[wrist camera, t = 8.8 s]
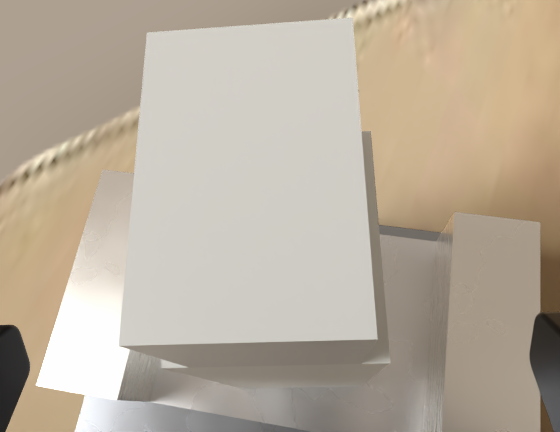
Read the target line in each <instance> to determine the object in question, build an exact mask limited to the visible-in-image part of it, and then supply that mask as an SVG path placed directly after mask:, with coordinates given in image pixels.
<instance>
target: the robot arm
mask: <svg viewBox="0 0 560 432" xmlns="http://www.w3.org/2000/svg"><path fill="white" fill-rule="evenodd" d="M529 358H530V364H531V368H532V371H533V374H534V377H535V379H536V382H537V385H538V388H539V391H540V394H541V397H542V399H543V402H544V405H545V408H546V411H547V414H548V416H549V419H550V422H551V425H552V428H553V431H554V432H560V312H540V313H539V314H537V315H536V317H535V320H534V326H533V333H532V339H531V346H530V353H529ZM29 371H30V362H29V358H28V355H27V352H26V349H25V346H24V343H23V340H22V337H21V334H20V331H19V329H18V328H17V327H16V326H14V325H0V432H5V431H6V429H7V426H8V424H9V422H10V419H11V417H12V414H13V412H14V409H15V407H16V405H17V402H18V400H19V397H20V395H21V392H22V390H23V387H24V385H25V383H26V380H27V378H28V375H29Z"/></svg>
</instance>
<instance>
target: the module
mask: <svg viewBox="0 0 560 432" xmlns="http://www.w3.org/2000/svg"><path fill="white" fill-rule="evenodd" d="M118 346H120V347H123V348H127V349H130V350H133V351H136V352H140V353H143V354H146V355H149V356H153V357H156V358H159V359H162V361H161V368H162V369H166V370H170V371H174V372H178V373H182V374H186V375H190V376H194V377H198V378H201V379H205V380H209V381H213V382H217V383H221V384H225V385H229V386H233V387H237V388H295V387H348V386H362V385H363V384H364V383H366V382H367V381H368V380H369V379H371V378H372V377H373V376H375V375H376V374H377V373H378V372H380V371H381V370H382V369H384V368H385V367H386V366H388V365H389V364H390V352H389V340H388V329H387V317H386V305H385V293H384V281H383V270H382V258H381V246H380V234H379V223H378V211H377V199H376V187H375V175H374V164H373V152H372V140H371V131H364V132H361V120H360V107H359V94H358V81H357V68H356V55H355V42H354V30H353V18H342V19H328V20H314V21H301V22H287V23H273V24H260V25H245V26H231V27H218V28H204V29H190V30H177V31H162V32H148V33H147V39H146V50H145V62H144V72H143V83H142V94H141V105H140V116H139V127H138V137H137V148H136V159H135V170H134V181H133V192H132V203H131V214H130V225H129V236H128V247H127V258H126V269H125V280H124V291H123V302H122V313H121V323H120V334H119V345H118Z"/></svg>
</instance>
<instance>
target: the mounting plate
mask: <svg viewBox="0 0 560 432" xmlns="http://www.w3.org/2000/svg"><path fill="white" fill-rule="evenodd" d="M133 181H134V173H126V172H118V171H109V170H102V173H101V176H100V180H99V183H98V186H97V189H96V193H95V196H94V199H93V202H92V206H91V209H90V212H89V215H88V219H87V222H86V225H85V228H84V232H83V235H82V238H81V242H80V245H79V248H78V251H77V255H76V258H75V261H74V264H73V268H72V271H71V274H70V277H69V281H68V284H67V287H66V290H65V294H64V297H63V300H62V303H61V307H60V310H59V313H58V317H57V320H56V323H55V326H54V330H53V333H52V336H51V339H50V343H49V346H48V349H47V352H46V356H45V359H44V362H43V365H42V369H41V372H40V375H39V379H38V382H37V385H36V386H42V387H47V388H53V389H58V390H63V391H69V392H74V393H80V394H85V398H84V401H83V405H82V408H81V412H80V416H79V419H78V423H77V427H76V430H75V432H540V391H539V388H538V385H537V382H536V379H535V377H534V374H533V371H532V368H531V364H530V358H529V353H530V346H531V339H532V333H533V326H534V320H535V317H536V315H537V314H539V313H540V222H534V221H526V220H518V219H509V218H501V217H493V216H484V215H476V214H468V213H459V212H454V213H453V215H452V217H451V218H450V220H449V221H448V223H447V225H446V226H445V228H444V229H443V231H442V232H441V233H439V232H431V231H423V230H415V229H407V228H399V227H391V226H383V225H379V234H380V246H381V258H382V270H383V281H384V293H385V305H386V317H387V329H388V340H389V352H390V364H389V365H388V366H386V367H385V368H384V369H382V370H381V371H380V372H378V373H377V374H376V375H375V376H373V377H372V378H371V379H369V380H368V381H367V382H366V383H364V384H363V385H362V386H348V387H295V388H237V387H233V386H229V385H225V384H221V383H217V382H213V381H209V380H205V379H201V378H198V377H194V376H190V375H186V374H182V373H178V372H174V371H170V370H166V369H162V368H161V361H162V359H159V358H156V357H153V356H149V355H146V354H143V353H140V352H136V351H133V350H130V349H127V348H123V347H120V346H118V345H119V334H120V323H121V313H122V302H123V291H124V280H125V269H126V258H127V247H128V236H129V225H130V214H131V203H132V192H133Z"/></svg>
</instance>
